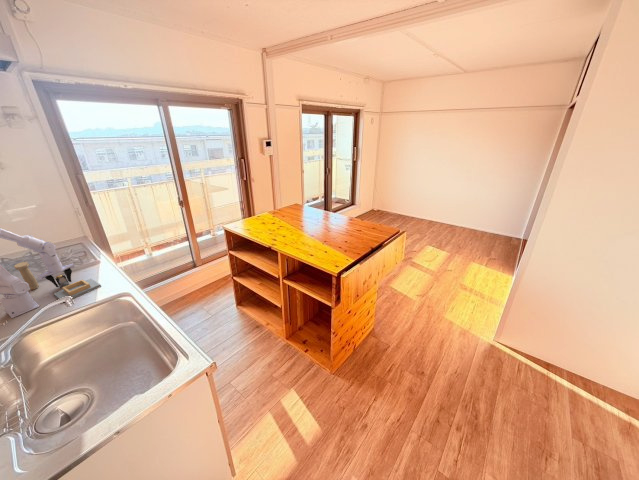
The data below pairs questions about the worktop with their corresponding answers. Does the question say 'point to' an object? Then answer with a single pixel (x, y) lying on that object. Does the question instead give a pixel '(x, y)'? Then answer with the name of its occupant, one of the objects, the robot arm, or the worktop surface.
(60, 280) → the valve stub
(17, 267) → the handle
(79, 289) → the fitting base
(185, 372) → the worktop surface
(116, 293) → the worktop surface
